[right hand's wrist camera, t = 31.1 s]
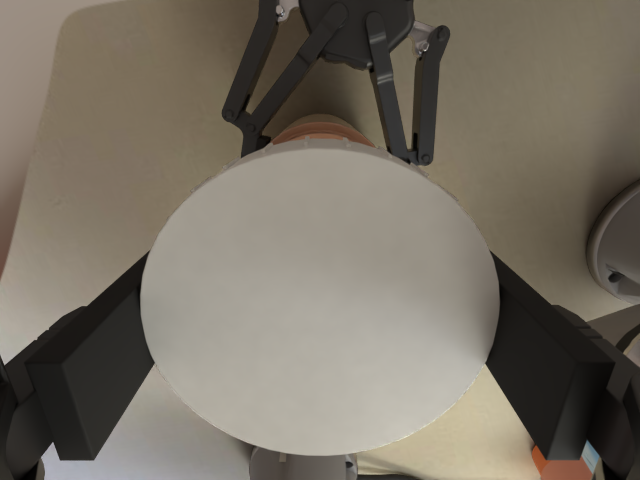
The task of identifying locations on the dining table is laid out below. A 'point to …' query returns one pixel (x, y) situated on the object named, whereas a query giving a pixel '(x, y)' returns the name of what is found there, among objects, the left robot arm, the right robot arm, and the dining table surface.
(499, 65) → the dining table surface
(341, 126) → the jar
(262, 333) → the lid
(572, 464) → the cup with straw
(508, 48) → the dining table surface
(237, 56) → the dining table surface
